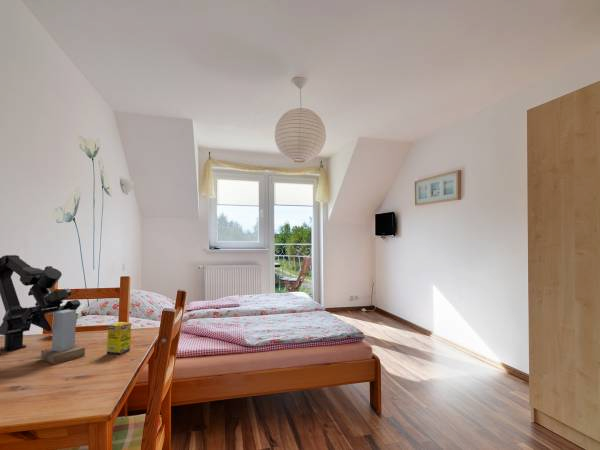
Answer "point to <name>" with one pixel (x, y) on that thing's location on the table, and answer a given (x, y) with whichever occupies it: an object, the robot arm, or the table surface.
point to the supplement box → (119, 338)
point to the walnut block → (62, 354)
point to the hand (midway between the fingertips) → (63, 327)
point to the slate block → (63, 330)
